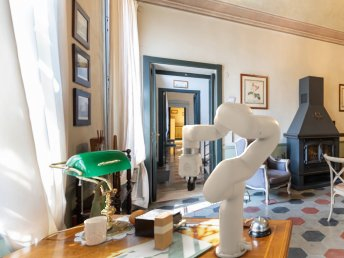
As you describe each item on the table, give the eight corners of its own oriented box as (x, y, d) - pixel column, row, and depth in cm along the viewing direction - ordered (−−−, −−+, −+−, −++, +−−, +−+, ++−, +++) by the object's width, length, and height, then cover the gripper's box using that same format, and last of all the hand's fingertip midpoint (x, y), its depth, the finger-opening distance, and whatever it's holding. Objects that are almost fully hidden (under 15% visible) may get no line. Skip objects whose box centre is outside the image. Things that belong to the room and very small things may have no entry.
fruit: (153, 219, 125) (145, 208, 122) (140, 231, 120) (131, 220, 116) (145, 216, 130) (137, 205, 126) (132, 227, 124) (123, 217, 120)
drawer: (190, 226, 117) (190, 214, 117) (174, 237, 105) (174, 223, 105) (158, 223, 121) (158, 211, 121) (140, 233, 109) (140, 220, 109)
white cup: (94, 247, 99) (94, 223, 99) (79, 245, 100) (79, 222, 100) (111, 238, 106) (111, 216, 106) (97, 236, 108) (97, 215, 108)
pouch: (104, 224, 123) (104, 176, 122) (120, 227, 118) (120, 178, 118) (79, 232, 112) (79, 181, 112) (95, 237, 108) (95, 183, 108)
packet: (173, 242, 103) (172, 213, 102) (162, 249, 97) (162, 218, 97) (164, 241, 103) (164, 212, 103) (154, 248, 97) (154, 217, 97)
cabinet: (180, 227, 119) (180, 210, 119) (161, 238, 106) (161, 220, 106) (155, 224, 122) (155, 208, 122) (134, 235, 109) (134, 218, 109)
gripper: (171, 152, 108) (171, 191, 108) (200, 152, 105) (200, 193, 105) (182, 150, 115) (182, 187, 115) (209, 151, 112) (209, 189, 112)
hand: (191, 190), depth 110 cm, fingers closed
